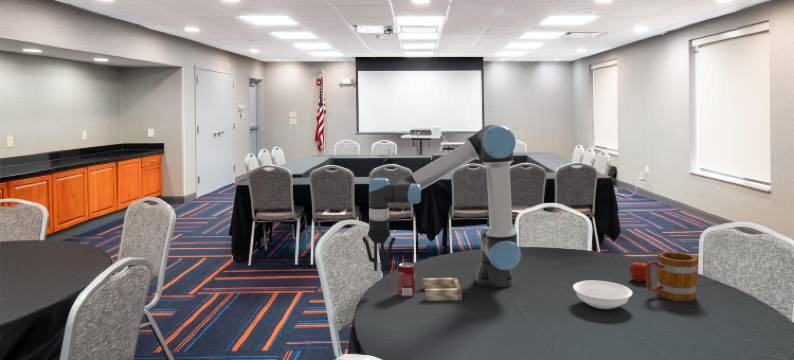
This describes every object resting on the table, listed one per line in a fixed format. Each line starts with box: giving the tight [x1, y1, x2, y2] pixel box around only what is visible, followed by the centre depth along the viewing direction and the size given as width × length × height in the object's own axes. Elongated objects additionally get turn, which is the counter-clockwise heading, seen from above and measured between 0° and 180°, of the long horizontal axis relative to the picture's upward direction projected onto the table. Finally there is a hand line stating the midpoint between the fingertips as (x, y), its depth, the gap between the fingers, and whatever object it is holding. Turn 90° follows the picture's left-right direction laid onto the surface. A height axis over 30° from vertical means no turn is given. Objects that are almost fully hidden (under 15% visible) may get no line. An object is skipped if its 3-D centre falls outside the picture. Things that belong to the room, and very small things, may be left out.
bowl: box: [572, 279, 633, 310], centre depth 183 cm, size 20×20×6 cm
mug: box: [645, 251, 699, 302], centre depth 192 cm, size 20×14×15 cm
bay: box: [422, 277, 463, 302], centre depth 197 cm, size 14×14×4 cm
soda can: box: [396, 262, 416, 298], centre depth 196 cm, size 7×7×12 cm
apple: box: [629, 261, 652, 282], centre depth 210 cm, size 8×8×8 cm
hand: (379, 279), depth 196 cm, fingers closed
